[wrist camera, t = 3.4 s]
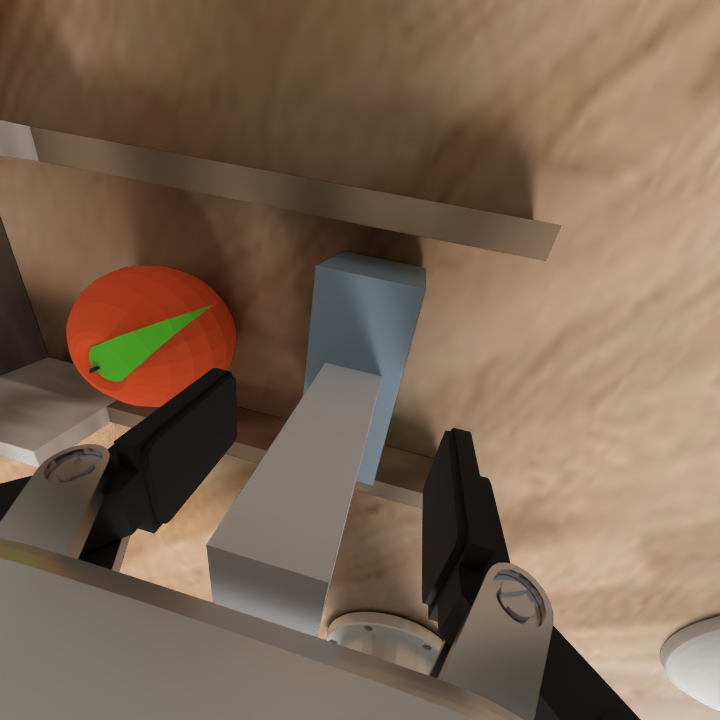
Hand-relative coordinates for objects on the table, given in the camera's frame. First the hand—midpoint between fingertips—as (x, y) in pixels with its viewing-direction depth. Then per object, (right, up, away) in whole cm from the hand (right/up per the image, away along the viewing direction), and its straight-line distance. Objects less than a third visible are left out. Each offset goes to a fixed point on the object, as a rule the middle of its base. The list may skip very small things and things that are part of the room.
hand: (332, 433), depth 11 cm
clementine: (-8, +5, +8) cm, 12 cm away
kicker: (+1, +3, +6) cm, 7 cm away
